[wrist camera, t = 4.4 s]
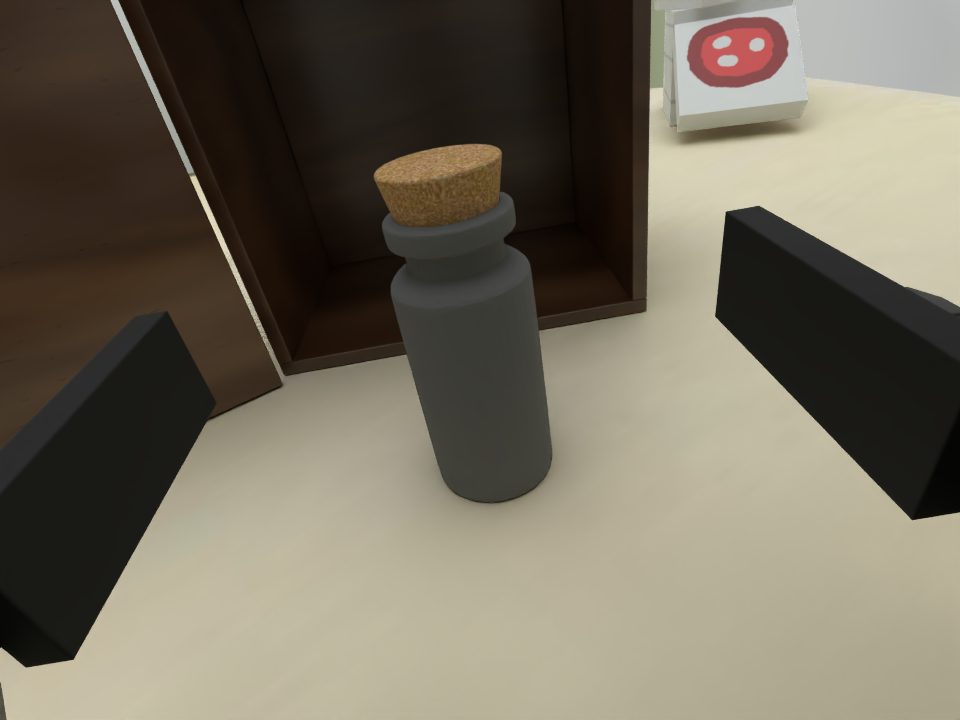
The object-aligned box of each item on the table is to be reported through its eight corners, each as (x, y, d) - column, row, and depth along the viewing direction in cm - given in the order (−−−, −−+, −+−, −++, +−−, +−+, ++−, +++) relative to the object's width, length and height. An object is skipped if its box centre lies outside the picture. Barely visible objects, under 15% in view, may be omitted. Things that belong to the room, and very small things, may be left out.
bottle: (423, 497, 26) (327, 192, 18) (459, 419, 31) (395, 147, 22) (542, 510, 24) (494, 176, 16) (561, 425, 29) (531, 132, 21)
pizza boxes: (663, 148, 71) (667, -14, 62) (650, 107, 95) (652, -15, 86) (824, 130, 67) (857, -49, 57) (768, 91, 90) (785, -39, 81)
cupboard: (646, 311, 37) (655, -213, 23) (284, 375, 38) (74, -98, 24) (584, 226, 52) (565, -121, 38) (325, 274, 53) (213, -52, 39)
